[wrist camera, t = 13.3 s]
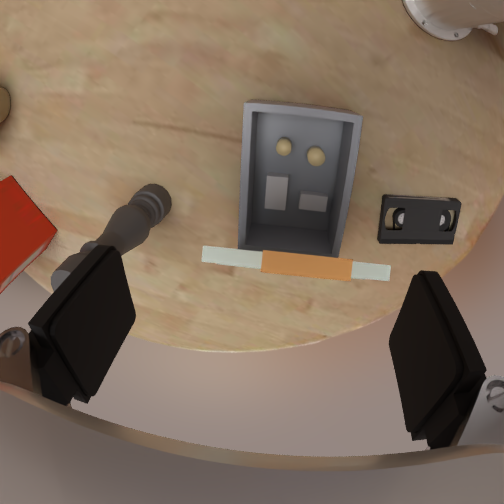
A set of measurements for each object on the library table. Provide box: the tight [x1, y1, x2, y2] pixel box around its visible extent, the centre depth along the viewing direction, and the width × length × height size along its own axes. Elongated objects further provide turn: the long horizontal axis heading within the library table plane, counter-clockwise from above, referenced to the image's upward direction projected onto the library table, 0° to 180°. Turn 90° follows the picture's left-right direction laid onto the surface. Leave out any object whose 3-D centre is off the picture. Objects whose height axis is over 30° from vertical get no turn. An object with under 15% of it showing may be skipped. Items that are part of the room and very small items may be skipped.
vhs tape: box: [377, 194, 461, 244], centre depth 45 cm, size 14×8×2 cm, turn 94°
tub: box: [238, 100, 363, 258], centre depth 41 cm, size 14×20×8 cm
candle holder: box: [51, 184, 172, 291], centre depth 39 cm, size 6×6×25 cm
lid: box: [202, 246, 391, 281], centre depth 30 cm, size 14×26×2 cm
